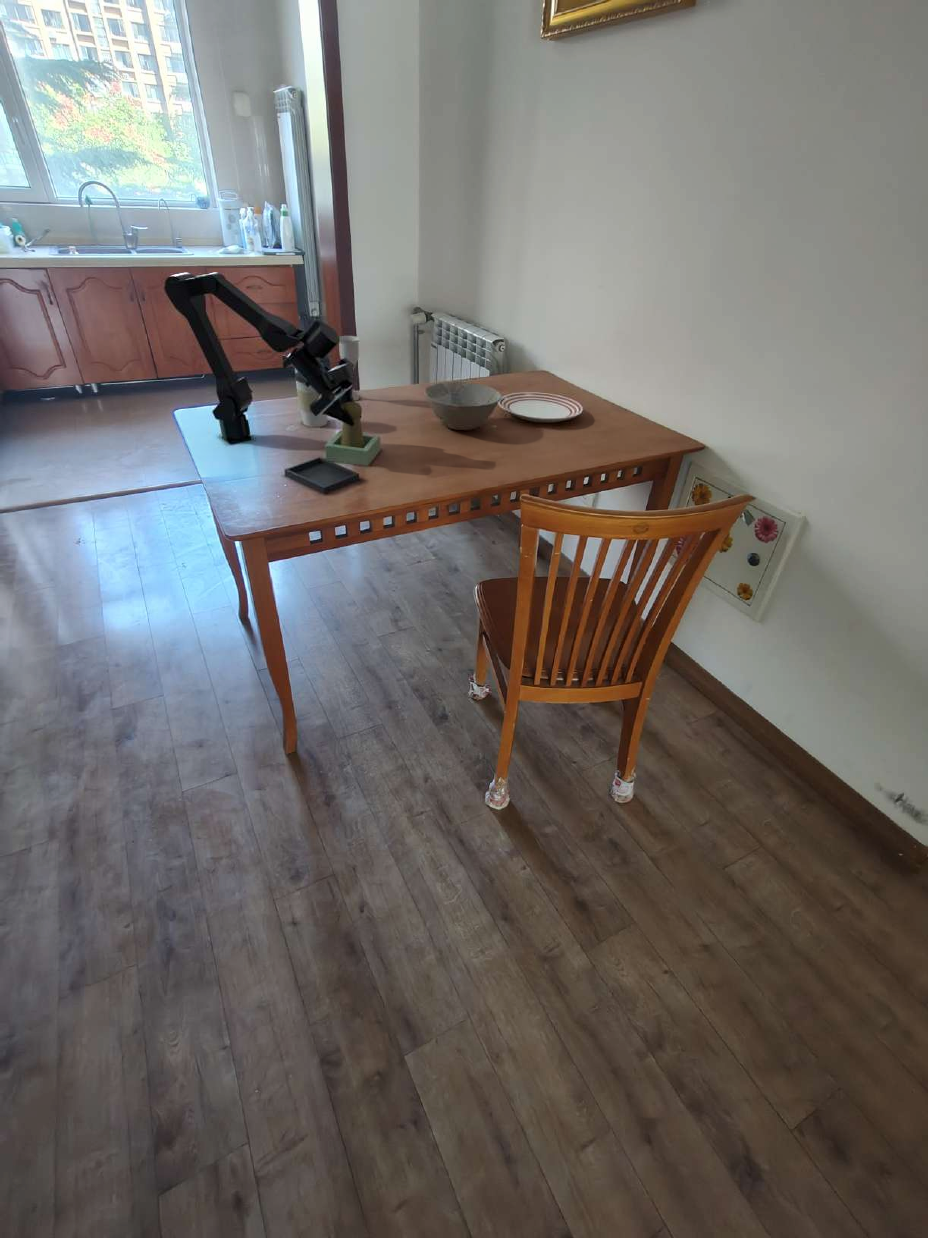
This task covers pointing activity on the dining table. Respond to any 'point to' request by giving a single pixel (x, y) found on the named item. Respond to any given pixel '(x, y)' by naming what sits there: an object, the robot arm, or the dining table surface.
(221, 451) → the dining table surface
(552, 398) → the dinner plate
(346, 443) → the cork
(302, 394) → the coffee cup
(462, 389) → the ceramic bowl
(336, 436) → the caddy
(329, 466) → the tray
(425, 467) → the dining table surface
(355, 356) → the chalice
